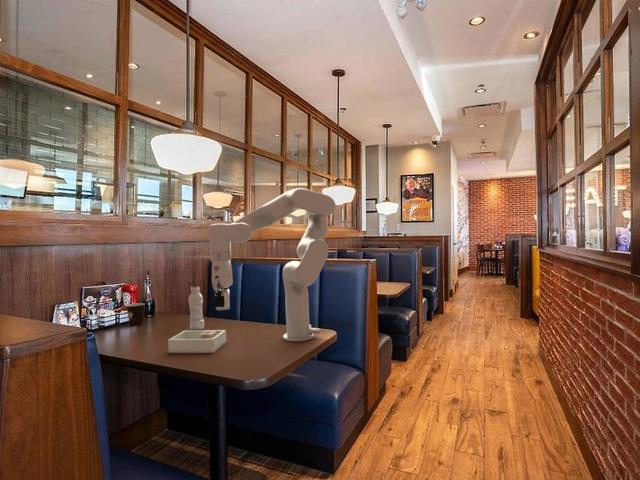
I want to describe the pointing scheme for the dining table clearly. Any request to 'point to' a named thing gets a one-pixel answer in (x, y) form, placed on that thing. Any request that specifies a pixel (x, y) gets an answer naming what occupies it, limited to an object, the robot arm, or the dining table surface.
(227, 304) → the steel cylinder
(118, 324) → the dining table surface
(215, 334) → the maple cube
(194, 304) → the plastic bottle
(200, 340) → the tote
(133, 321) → the coffee mug
